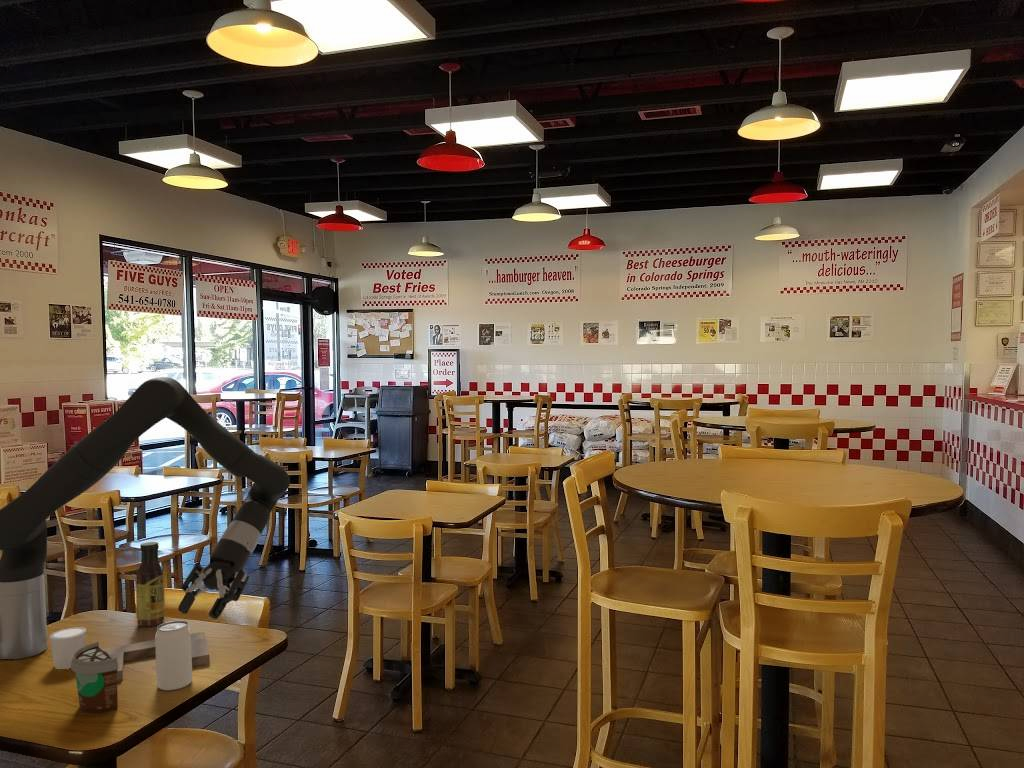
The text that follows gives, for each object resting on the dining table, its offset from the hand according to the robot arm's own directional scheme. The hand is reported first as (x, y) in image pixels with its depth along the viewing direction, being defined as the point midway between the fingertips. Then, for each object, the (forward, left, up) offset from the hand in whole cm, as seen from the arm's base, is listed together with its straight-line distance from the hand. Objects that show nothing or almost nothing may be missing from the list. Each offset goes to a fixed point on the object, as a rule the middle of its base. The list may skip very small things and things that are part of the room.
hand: (197, 614), depth 154 cm
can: (-5, -4, -12) cm, 14 cm away
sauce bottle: (-9, +37, -12) cm, 40 cm away
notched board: (-9, +11, -12) cm, 19 cm away
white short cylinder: (-25, +18, -12) cm, 33 cm away
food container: (-19, -7, -12) cm, 24 cm away
